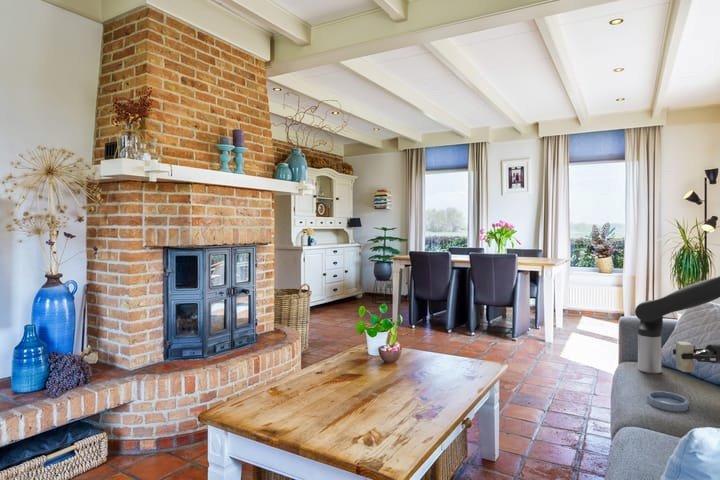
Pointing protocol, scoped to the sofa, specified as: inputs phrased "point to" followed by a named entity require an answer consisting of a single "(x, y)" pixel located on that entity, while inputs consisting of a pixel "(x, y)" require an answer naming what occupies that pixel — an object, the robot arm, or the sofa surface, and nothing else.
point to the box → (684, 364)
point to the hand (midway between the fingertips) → (677, 354)
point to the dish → (667, 401)
